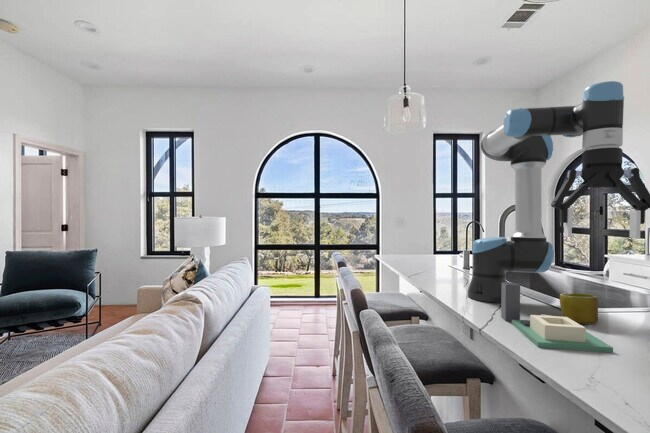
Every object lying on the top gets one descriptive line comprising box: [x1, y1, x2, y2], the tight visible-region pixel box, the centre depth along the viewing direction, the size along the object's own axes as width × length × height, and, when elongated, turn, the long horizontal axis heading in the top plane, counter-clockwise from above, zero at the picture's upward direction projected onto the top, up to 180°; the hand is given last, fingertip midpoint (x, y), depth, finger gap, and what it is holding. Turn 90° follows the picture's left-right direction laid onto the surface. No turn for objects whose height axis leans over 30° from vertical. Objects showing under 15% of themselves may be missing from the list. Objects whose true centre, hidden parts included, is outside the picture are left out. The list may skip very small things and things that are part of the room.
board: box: [511, 313, 614, 354], centre depth 90 cm, size 18×16×5 cm
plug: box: [500, 281, 521, 322], centre depth 104 cm, size 4×4×11 cm
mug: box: [558, 292, 599, 325], centre depth 104 cm, size 12×10×10 cm
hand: (600, 237), depth 82 cm, fingers open, 13 cm apart
